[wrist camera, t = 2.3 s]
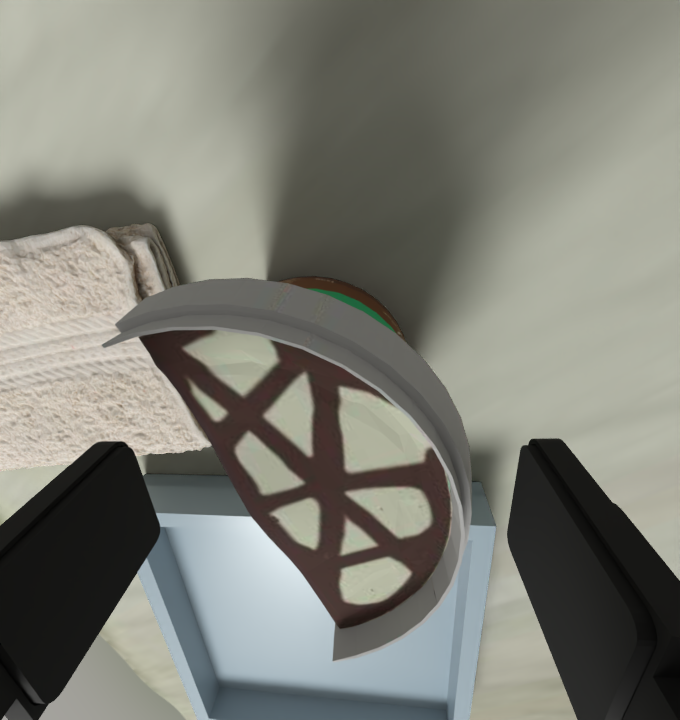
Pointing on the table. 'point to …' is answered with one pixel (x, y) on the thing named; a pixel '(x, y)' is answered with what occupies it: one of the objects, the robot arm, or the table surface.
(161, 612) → the tray
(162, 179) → the table surface
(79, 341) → the washcloth
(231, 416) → the food container
